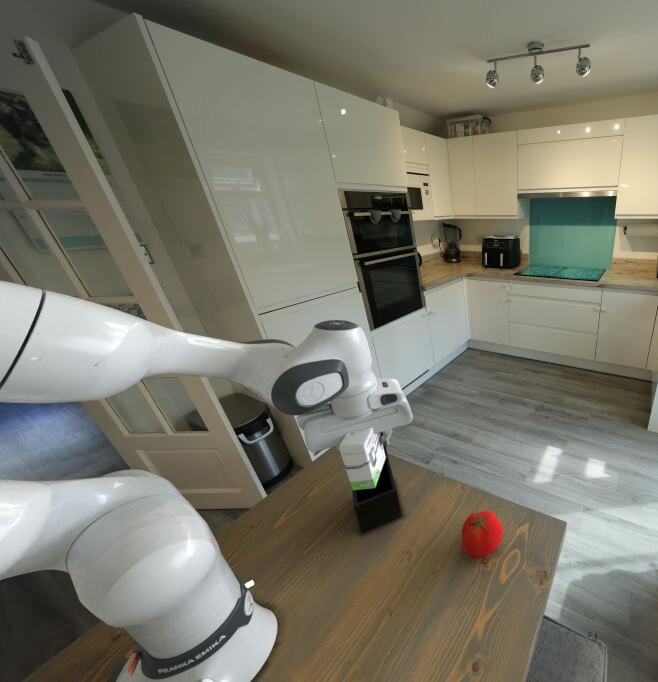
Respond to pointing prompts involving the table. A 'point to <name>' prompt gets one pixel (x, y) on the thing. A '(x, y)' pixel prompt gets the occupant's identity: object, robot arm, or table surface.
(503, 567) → the table surface
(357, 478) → the ink box
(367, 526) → the trash bin
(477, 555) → the tomato
